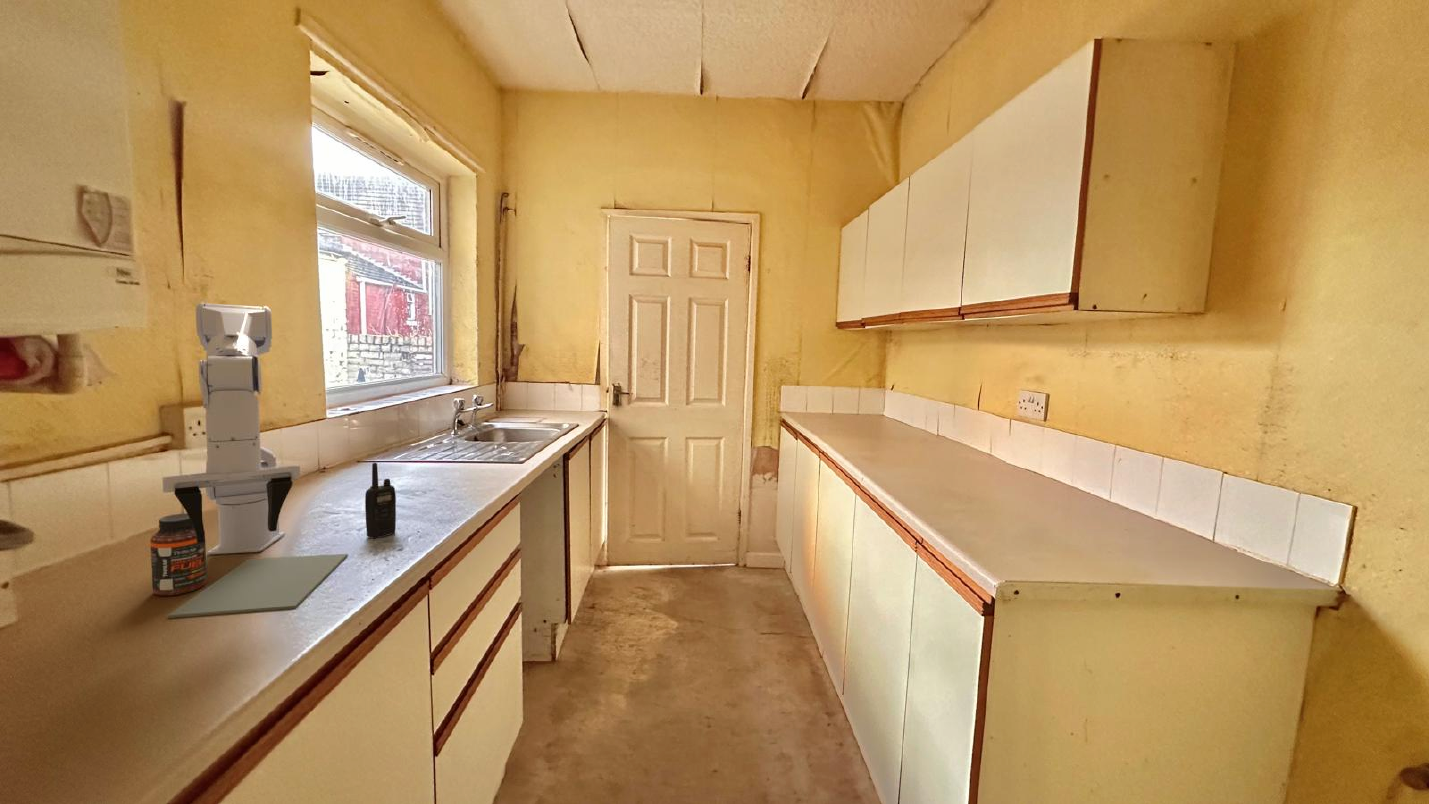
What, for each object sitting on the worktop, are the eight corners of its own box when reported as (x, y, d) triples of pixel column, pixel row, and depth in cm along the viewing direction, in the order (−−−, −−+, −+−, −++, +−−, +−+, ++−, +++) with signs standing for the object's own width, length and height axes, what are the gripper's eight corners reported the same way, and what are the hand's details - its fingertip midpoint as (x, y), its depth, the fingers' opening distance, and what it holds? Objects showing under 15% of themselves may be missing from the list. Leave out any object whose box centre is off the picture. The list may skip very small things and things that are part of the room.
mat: (248, 561, 94) (248, 559, 94) (347, 555, 98) (347, 553, 98) (167, 618, 75) (167, 615, 75) (295, 608, 79) (295, 605, 79)
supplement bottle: (173, 600, 80) (168, 525, 79) (141, 594, 81) (136, 520, 80) (217, 583, 85) (214, 513, 84) (187, 578, 87) (183, 509, 86)
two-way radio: (370, 540, 105) (369, 465, 104) (359, 536, 108) (357, 461, 106) (399, 533, 110) (398, 460, 109) (388, 528, 112) (386, 457, 111)
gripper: (162, 445, 69) (166, 551, 69) (303, 437, 80) (306, 529, 80) (160, 444, 74) (164, 543, 74) (293, 436, 85) (296, 523, 85)
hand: (237, 535), depth 77 cm, fingers open, 7 cm apart
